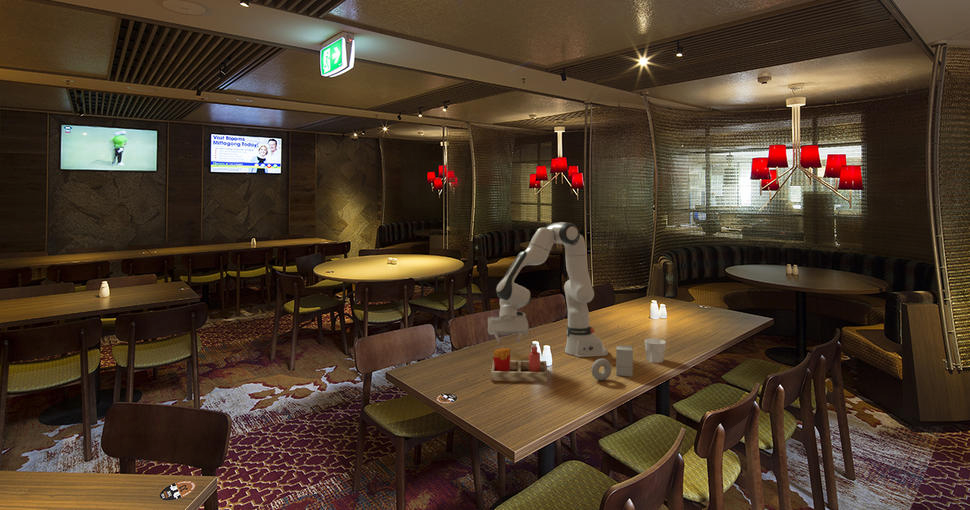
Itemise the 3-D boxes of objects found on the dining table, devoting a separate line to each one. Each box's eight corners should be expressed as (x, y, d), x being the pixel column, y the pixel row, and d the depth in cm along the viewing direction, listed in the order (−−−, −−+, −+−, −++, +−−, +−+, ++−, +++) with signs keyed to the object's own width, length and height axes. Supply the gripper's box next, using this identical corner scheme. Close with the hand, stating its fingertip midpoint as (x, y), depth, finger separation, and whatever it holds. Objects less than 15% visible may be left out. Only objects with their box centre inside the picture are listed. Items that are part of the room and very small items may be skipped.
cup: (655, 364, 233) (655, 345, 232) (639, 359, 242) (640, 340, 240) (669, 361, 237) (670, 342, 236) (654, 355, 246) (654, 337, 245)
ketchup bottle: (539, 374, 221) (539, 342, 220) (540, 378, 216) (540, 345, 215) (528, 374, 222) (528, 342, 220) (528, 378, 217) (528, 345, 215)
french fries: (496, 376, 219) (495, 351, 218) (492, 374, 223) (492, 349, 222) (512, 373, 223) (511, 348, 222) (508, 370, 226) (507, 346, 225)
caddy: (546, 369, 229) (546, 361, 228) (547, 381, 212) (547, 373, 212) (493, 368, 231) (493, 360, 230) (490, 380, 215) (490, 372, 214)
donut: (608, 377, 217) (608, 356, 216) (612, 379, 213) (613, 358, 212) (589, 380, 213) (589, 358, 212) (593, 383, 210) (594, 361, 209)
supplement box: (632, 371, 224) (633, 345, 222) (632, 377, 217) (632, 350, 215) (616, 370, 226) (617, 344, 225) (615, 375, 219) (616, 348, 218)
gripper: (487, 313, 236) (486, 338, 227) (528, 312, 234) (529, 337, 225) (488, 320, 240) (487, 344, 232) (528, 319, 239) (529, 344, 230)
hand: (508, 341), depth 228 cm, fingers open, 8 cm apart
